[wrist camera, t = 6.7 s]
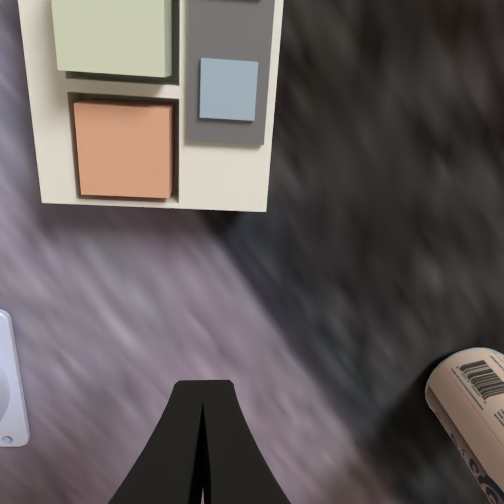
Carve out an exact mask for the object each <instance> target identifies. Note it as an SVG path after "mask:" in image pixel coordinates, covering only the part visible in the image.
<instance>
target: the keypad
mask: <svg viewBox="0 0 504 504" xmlns="http://www.w3.org/2000/svg"><path fill="white" fill-rule="evenodd" d="M18 5H19V14H20V22H21V31H22V39H23V48H24V56H25V64H26V73H27V81H28V90H29V98H30V107H31V115H32V123H33V132H34V140H35V149H36V157H37V165H38V174H39V182H40V191H41V199H42V203H57V204H82V205H106V206H131V207H156V208H180V209H205V210H229V211H254V212H266V205H267V193H268V181H269V168H270V156H271V144H272V132H273V120H274V108H275V96H276V84H277V72H278V60H279V48H280V36H281V23H282V11H283V0H172V75H170V76H168V77H151V76H136V75H122V74H107V73H92V72H78V71H63V70H58V68H57V57H56V47H55V36H54V25H53V15H52V4H51V0H18ZM92 97H94V98H109V99H125V100H141V101H157V102H173V103H175V182H174V186H173V189H172V192H171V195H170V198H152V197H129V196H105V195H82V194H81V187H80V175H79V163H78V151H77V139H76V127H75V115H74V103H76V102H79V101H82V100H85V99H89V98H92Z"/></svg>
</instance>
